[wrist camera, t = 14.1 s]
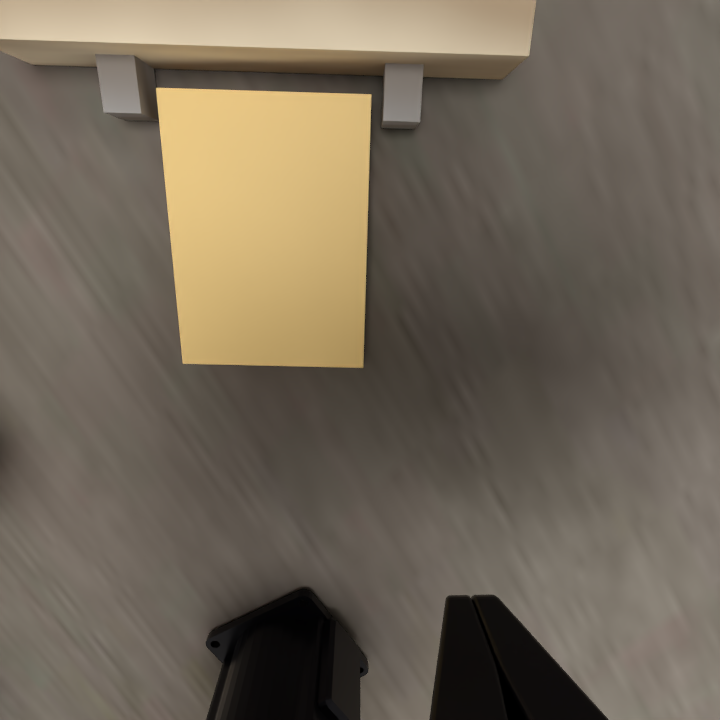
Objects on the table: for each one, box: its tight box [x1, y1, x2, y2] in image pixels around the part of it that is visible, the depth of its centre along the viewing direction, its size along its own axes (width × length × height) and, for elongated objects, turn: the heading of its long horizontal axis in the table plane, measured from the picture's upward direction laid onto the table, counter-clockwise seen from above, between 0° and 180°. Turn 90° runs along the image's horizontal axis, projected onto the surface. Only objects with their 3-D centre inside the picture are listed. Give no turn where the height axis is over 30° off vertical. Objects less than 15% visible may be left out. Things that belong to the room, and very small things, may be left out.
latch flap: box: [156, 88, 371, 368], centre depth 16 cm, size 9×7×1 cm
